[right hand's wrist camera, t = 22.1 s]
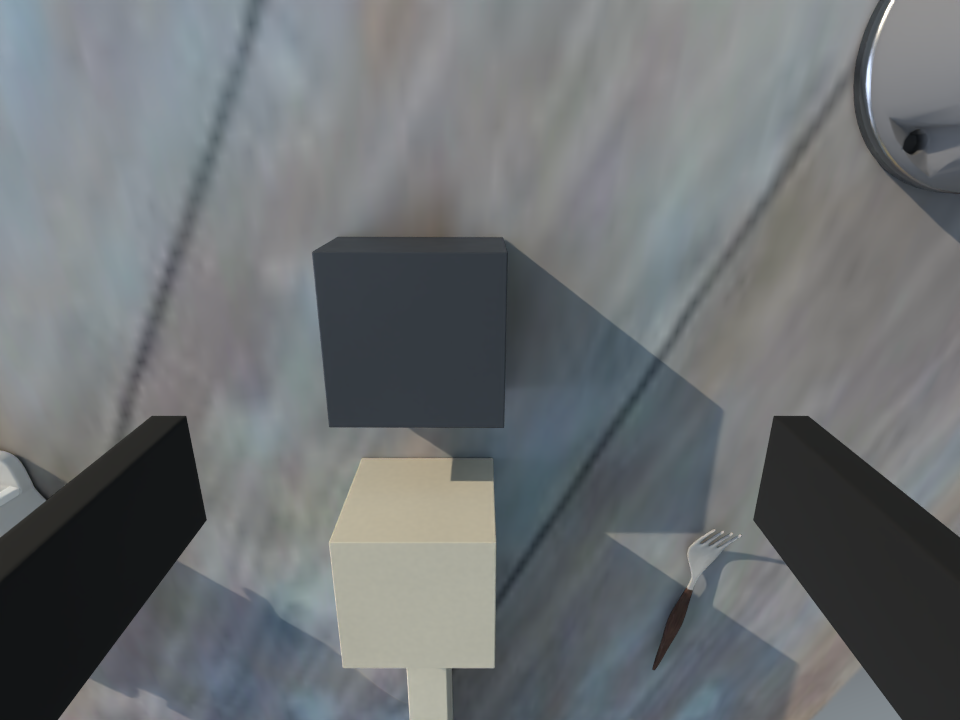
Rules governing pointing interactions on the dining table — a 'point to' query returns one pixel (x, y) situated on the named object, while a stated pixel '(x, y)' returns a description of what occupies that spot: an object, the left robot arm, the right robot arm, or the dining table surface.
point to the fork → (691, 585)
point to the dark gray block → (413, 330)
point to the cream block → (418, 573)
